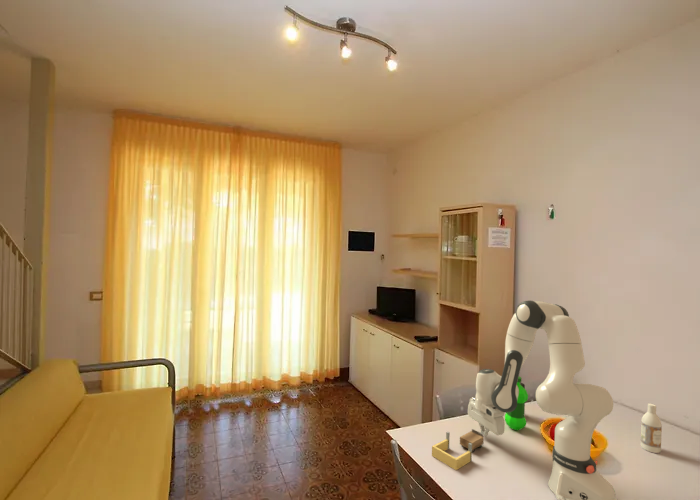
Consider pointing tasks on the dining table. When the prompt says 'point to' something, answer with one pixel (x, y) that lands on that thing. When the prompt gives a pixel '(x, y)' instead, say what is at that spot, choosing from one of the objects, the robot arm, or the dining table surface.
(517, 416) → the plastic bottle
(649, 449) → the bath foam
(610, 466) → the dining table surface
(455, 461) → the bay
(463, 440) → the small brown box
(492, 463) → the dining table surface
